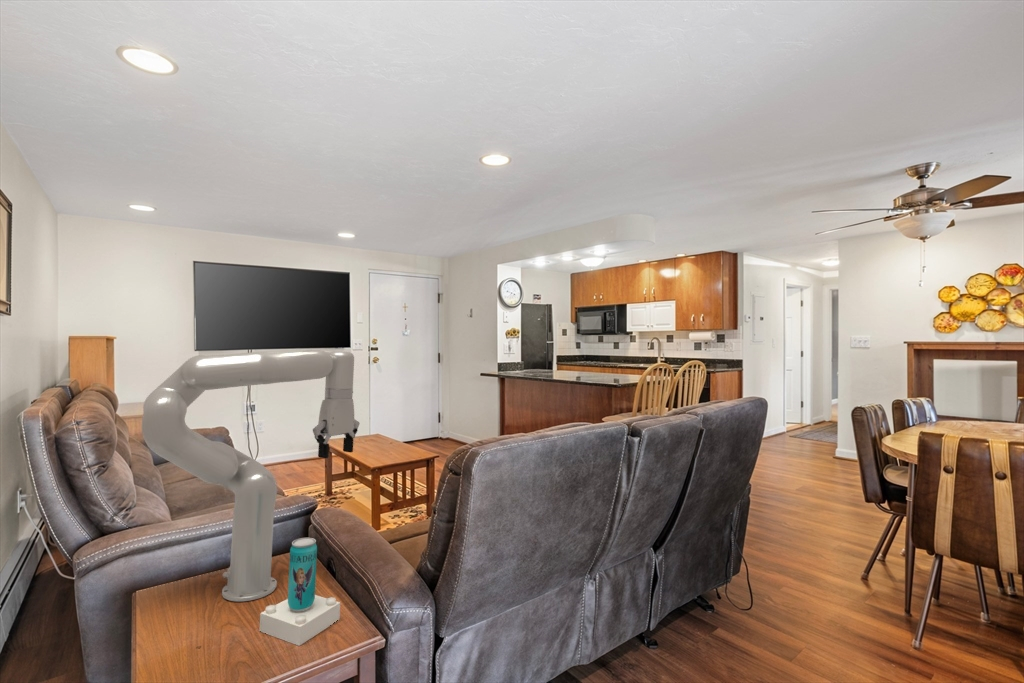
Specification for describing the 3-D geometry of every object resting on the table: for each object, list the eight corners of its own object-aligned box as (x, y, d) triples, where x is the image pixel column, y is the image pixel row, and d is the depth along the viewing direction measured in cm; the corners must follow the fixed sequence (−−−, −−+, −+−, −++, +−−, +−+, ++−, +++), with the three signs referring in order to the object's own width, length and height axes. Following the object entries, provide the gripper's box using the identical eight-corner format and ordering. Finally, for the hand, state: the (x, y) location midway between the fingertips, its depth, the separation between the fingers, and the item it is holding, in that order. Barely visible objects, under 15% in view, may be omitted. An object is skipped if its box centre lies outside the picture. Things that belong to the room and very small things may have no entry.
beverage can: (287, 615, 112) (290, 547, 113) (287, 603, 117) (290, 538, 118) (315, 611, 114) (318, 544, 115) (313, 599, 120) (316, 535, 120)
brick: (259, 631, 113) (260, 608, 113) (301, 607, 124) (302, 586, 124) (299, 645, 108) (300, 622, 108) (339, 619, 119) (340, 598, 119)
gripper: (349, 392, 154) (347, 448, 153) (305, 395, 138) (302, 458, 138) (369, 393, 151) (366, 451, 150) (326, 397, 135) (323, 461, 135)
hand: (335, 454), depth 144 cm, fingers open, 9 cm apart
